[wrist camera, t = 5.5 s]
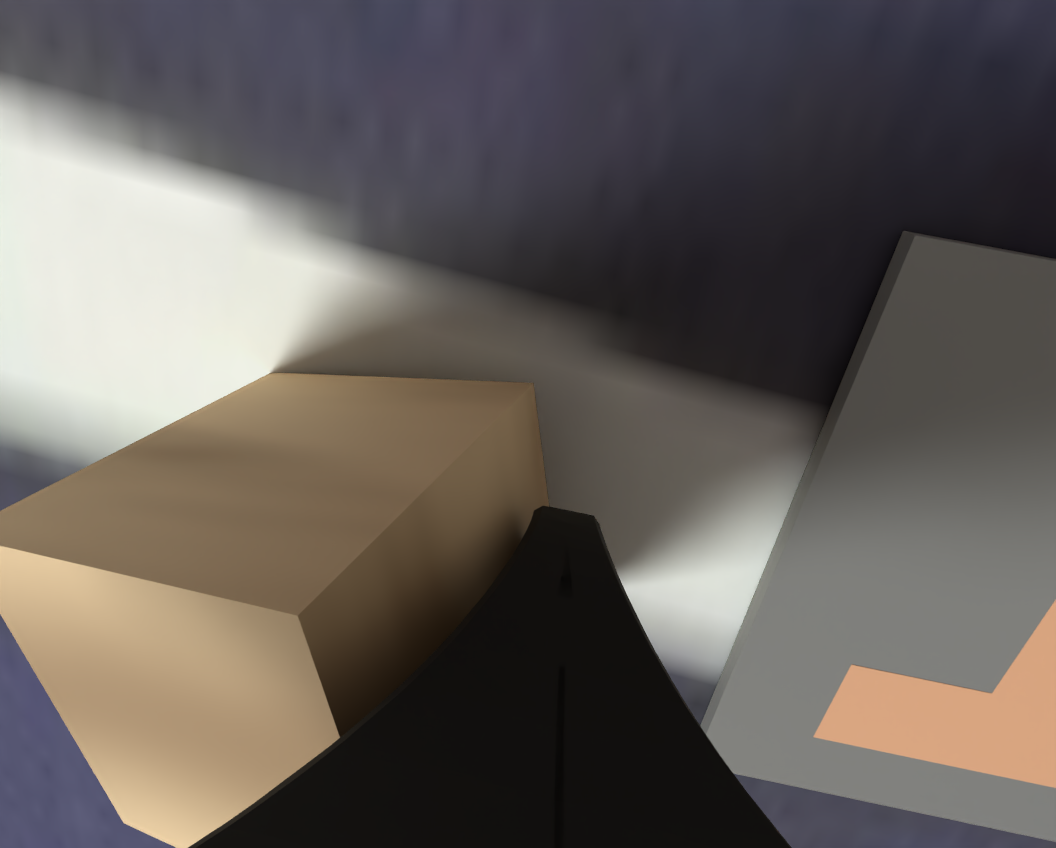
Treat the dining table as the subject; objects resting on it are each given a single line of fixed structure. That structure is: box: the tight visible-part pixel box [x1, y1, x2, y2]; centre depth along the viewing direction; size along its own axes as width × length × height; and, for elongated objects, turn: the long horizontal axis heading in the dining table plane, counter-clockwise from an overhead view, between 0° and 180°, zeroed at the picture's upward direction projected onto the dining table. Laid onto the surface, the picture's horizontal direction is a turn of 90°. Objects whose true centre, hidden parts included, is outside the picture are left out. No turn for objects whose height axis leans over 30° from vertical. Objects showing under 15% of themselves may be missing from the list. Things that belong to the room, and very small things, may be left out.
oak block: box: [0, 373, 549, 848], centre depth 9 cm, size 5×5×5 cm
